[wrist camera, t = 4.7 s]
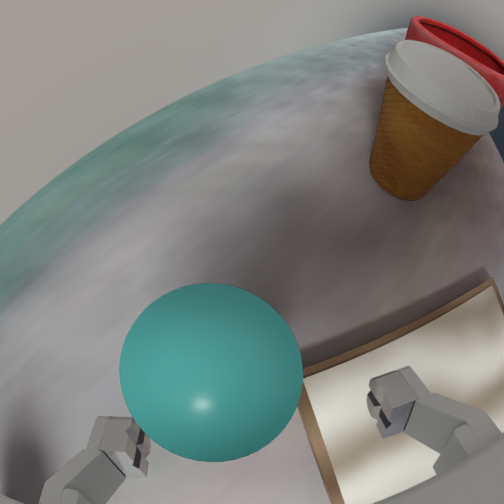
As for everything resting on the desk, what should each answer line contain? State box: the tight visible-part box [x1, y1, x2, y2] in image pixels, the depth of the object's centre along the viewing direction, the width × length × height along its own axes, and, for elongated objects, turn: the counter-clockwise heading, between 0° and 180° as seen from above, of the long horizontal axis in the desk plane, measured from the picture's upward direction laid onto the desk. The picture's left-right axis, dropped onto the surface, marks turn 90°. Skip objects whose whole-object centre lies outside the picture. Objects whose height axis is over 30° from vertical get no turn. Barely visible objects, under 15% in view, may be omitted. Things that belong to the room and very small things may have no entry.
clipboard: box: [297, 277, 504, 504], centre depth 15 cm, size 16×19×2 cm
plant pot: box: [405, 16, 504, 109], centre depth 24 cm, size 13×13×12 cm
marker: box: [119, 283, 303, 462], centre depth 12 cm, size 4×4×13 cm
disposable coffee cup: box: [369, 40, 500, 200], centre depth 20 cm, size 10×10×12 cm
